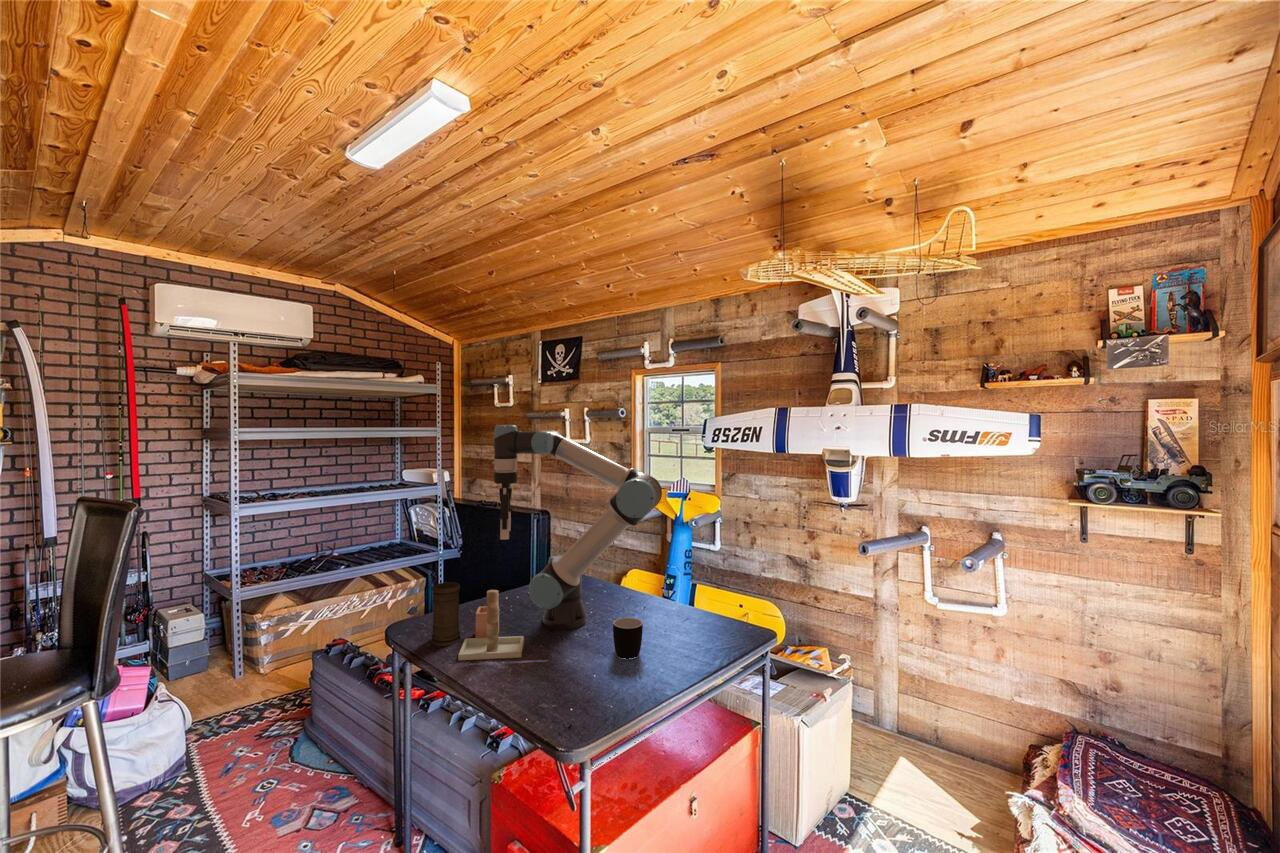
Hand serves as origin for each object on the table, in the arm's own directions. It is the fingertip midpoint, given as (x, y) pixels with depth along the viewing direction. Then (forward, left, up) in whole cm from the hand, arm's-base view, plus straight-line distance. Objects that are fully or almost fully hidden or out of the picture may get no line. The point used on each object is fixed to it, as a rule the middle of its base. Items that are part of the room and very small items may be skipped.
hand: (505, 535), depth 185 cm
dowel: (+2, +16, -32) cm, 36 cm away
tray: (+2, +16, -33) cm, 36 cm away
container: (+18, +6, -33) cm, 38 cm away
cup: (+5, +4, -33) cm, 33 cm away
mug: (-38, +22, -33) cm, 55 cm away
